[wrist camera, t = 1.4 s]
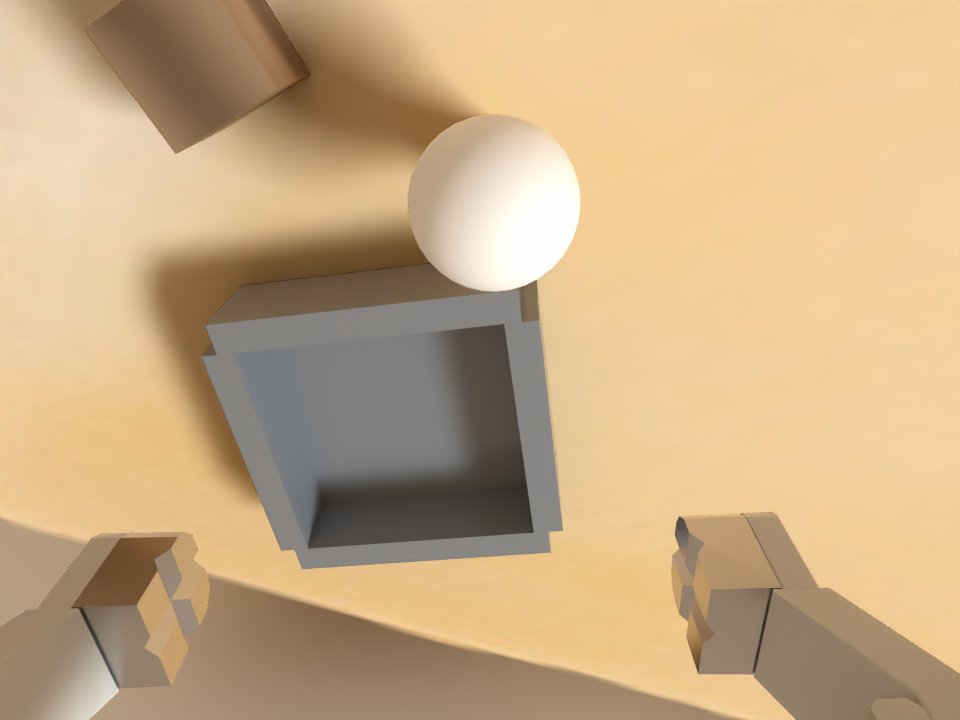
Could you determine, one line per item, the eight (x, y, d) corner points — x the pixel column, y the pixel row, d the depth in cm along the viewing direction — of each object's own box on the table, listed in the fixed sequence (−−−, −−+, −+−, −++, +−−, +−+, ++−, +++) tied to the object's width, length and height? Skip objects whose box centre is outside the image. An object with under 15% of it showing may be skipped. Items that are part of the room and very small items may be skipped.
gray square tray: (533, 250, 32) (535, 287, 29) (560, 496, 40) (565, 551, 37) (226, 287, 34) (188, 327, 30) (310, 515, 42) (289, 569, 38)
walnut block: (240, -43, 27) (187, -47, 22) (311, 74, 29) (275, 90, 25) (150, 22, 28) (83, 30, 24) (224, 129, 30) (175, 153, 26)
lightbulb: (535, 235, 32) (544, 343, 23) (416, 193, 31) (373, 286, 22) (586, 111, 29) (621, 176, 20) (456, 61, 28) (426, 103, 19)
